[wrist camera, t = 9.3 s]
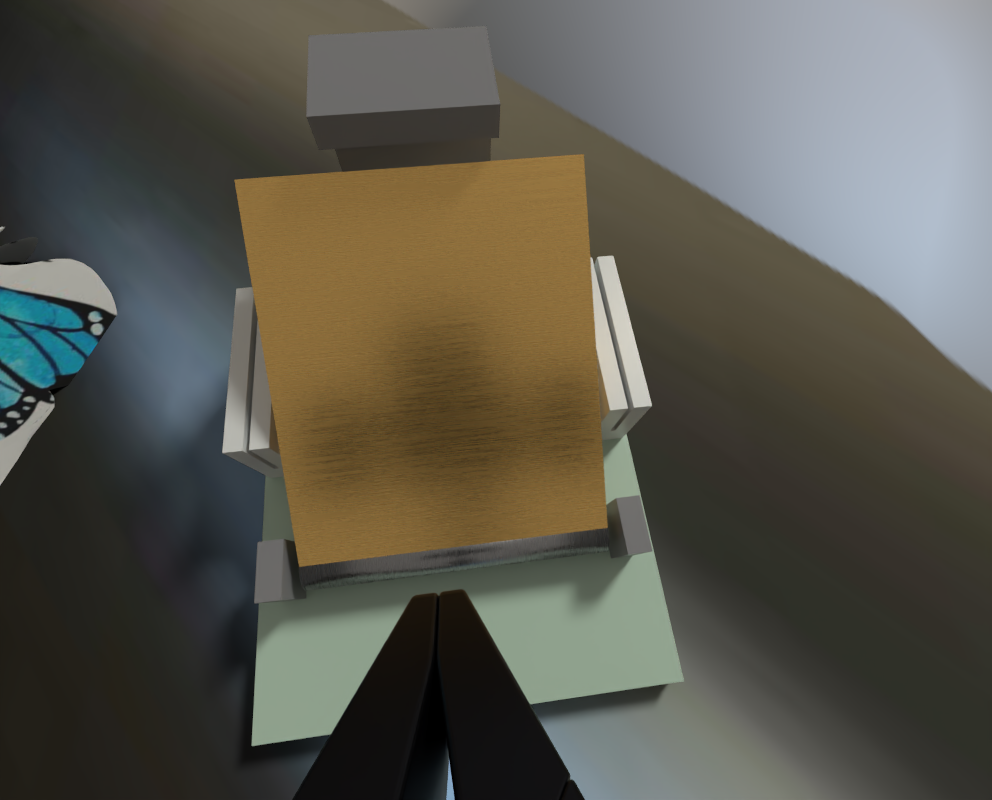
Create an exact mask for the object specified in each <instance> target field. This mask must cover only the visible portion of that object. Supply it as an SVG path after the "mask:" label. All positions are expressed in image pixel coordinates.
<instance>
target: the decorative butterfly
mask: <svg viewBox="0 0 992 800" xmlns="http://www.w3.org/2000/svg"><path fill="white" fill-rule="evenodd" d="M4 228H5V227H1V228H0V232H1V231H2V230H3V229H4ZM37 243H38V239H37V238H36V237H29V238H25V239H21V240H18V241H15V242H12V243H9V244H6V245H3V246H1V247H0V485H1V483H2V482H3V480H4V479H5V477H6V476H7V474H8V473H9V471H10V470H11V468H12V467H13V465H14V464H15V462H16V461H17V459H18V458H19V456H20V455H21V453H22V452H23V450H24V448H25V447H26V445H27V443H28V442H29V440H30V438H31V437H32V435H33V434H34V433H35V432H36V430H37V429H38V428H39V426H40V425H41V424H42V423H43V421H44V420H45V419H46V418H47V416H48V415H49V414H50V413H51V411H52V410H53V408H54V397H53V395H52V394H51V393H50V390H52V389H55V388H60V387H64V386H68V385H69V384H70V382H71V381H72V379H73V378H74V377H75V375H76V374H77V372H78V371H79V369H80V368H81V367H82V365H83V364H84V362H85V361H86V359H87V358H88V356H89V355H90V354H91V352H92V351H93V349H94V348H95V346H96V345H97V343H98V342H99V340H100V339H101V338H102V336H103V335H104V333H105V332H106V330H107V329H108V327H109V326H110V324H111V323H112V321H113V320H114V318H115V317H116V315H117V311H116V306H115V303H114V300H113V297H112V295H111V293H110V291H109V290H108V288H107V287H106V286H105V284H104V283H103V281H102V280H101V279H100V277H99V276H98V275H97V274H96V273H95V272H94V271H93V270H92V269H91V268H90V267H88V266H87V265H85V264H83V263H81V262H78V261H75V260H72V259H52V260H46V261H41V262H36V263H31V264H23V263H24V262H25V261H26V260H27V259H28V258H29V257H30V256H31V254H32V253H33V252H34V250H35V248H36V245H37ZM22 264H23V265H22Z"/></svg>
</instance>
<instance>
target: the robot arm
mask: <svg viewBox="0 0 992 800" xmlns="http://www.w3.org/2000/svg"><path fill="white" fill-rule="evenodd" d="M449 760H450V768H451V775H452V782H453V789H454V797H455V800H585V799H584V797H583V796H582V794H581V792H580V790H579V789H578V787H577V785H576V783H575V782H574V781H573V780H570V774H569V772H568V770H567V768H566V766H565V765H564V763H563V761H562V759H561V758H560V756H559V754H558V752H557V751H556V749H555V747H554V745H553V744H552V742H551V740H550V738H549V737H548V735H547V733H546V731H545V730H544V728H543V726H542V724H541V723H540V721H539V719H538V717H537V716H536V714H535V712H534V710H533V709H532V707H531V705H530V703H529V702H528V700H527V698H526V696H525V695H524V693H523V691H522V689H521V688H520V686H519V684H518V682H517V680H516V679H515V677H514V675H513V673H512V672H511V670H510V668H509V666H508V665H507V663H506V661H505V659H504V658H503V656H502V654H501V652H500V651H499V649H498V647H497V645H496V644H495V642H494V640H493V638H492V637H491V635H490V633H489V631H488V630H487V628H486V626H485V624H484V623H483V621H482V619H481V617H480V616H479V614H478V612H477V610H476V609H475V607H474V605H473V603H472V602H471V600H470V598H469V596H468V595H467V593H466V592H465V591H464V590H463V589H457V590H450V591H443V592H441V593H440V595H438V594H437V593H427V594H419V595H415V596H413V597H412V598H411V599H410V601H409V603H408V604H407V606H406V608H405V609H404V611H403V613H402V615H401V616H400V618H399V620H398V621H397V623H396V625H395V626H394V628H393V630H392V632H391V633H390V635H389V637H388V638H387V640H386V642H385V643H384V645H383V647H382V648H381V650H380V652H379V654H378V655H377V657H376V659H375V660H374V662H373V664H372V665H371V667H370V669H369V670H368V672H367V674H366V676H365V677H364V679H363V681H362V682H361V684H360V686H359V687H358V689H357V691H356V693H355V694H354V696H353V698H352V699H351V701H350V703H349V704H348V706H347V708H346V709H345V711H344V713H343V715H342V716H341V718H340V720H339V721H338V723H337V725H336V726H335V728H334V730H333V731H332V733H331V735H330V737H329V738H328V740H327V742H326V743H325V745H324V747H323V748H322V750H321V752H320V753H319V755H318V757H317V759H316V760H315V762H314V764H313V765H312V767H311V769H310V770H309V772H308V774H307V776H306V777H305V779H304V781H303V782H302V784H301V786H300V787H299V789H298V791H297V792H296V794H295V796H294V798H293V799H292V800H446V795H447V780H448V765H449Z"/></svg>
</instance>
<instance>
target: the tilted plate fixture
mask: <svg viewBox="0 0 992 800" xmlns="http://www.w3.org/2000/svg"><path fill="white" fill-rule="evenodd" d="M307 119H308V122H309V125H310V127H311V130H312V133H313V135H314V138H315V141H316V143H317V146H318V149H319V150H326V149H335V151H336V154H337V157H338V160H339V163H340V166H341V169H342V171H343V172H348V171H362V170H375V169H389V168H403V167H417V166H430V165H444V164H458V163H472V162H485V161H490V148H491V138H499V121H500V101H499V95H498V90H497V84H496V79H495V73H494V68H493V62H492V57H491V51H490V46H489V40H488V34H487V29H486V26H478V27H460V28H440V29H421V30H403V31H384V32H365V33H347V34H328V35H310V36H309V46H308V82H307ZM590 260H591V276H592V291H593V307H594V322H595V338H596V354H597V369H598V385H599V400H600V416H601V431H602V447H603V463H604V478H605V494H606V509H607V525H608V532H609V550H608V552H602V553H594V554H586V555H579V556H571V557H563V558H556V559H548V560H540V561H533V562H525V563H517V564H510V565H502V566H494V567H486V568H479V569H471V570H463V571H456V572H448V573H440V574H433V575H425V576H417V577H410V578H402V579H394V580H387V581H379V582H371V583H364V584H356V585H348V586H340V587H333V588H325V589H317V590H310V591H305V590H304V589H303V588H302V586H301V582H300V577H299V564H298V558H297V552H296V546H295V540H294V534H293V528H292V522H291V516H290V510H289V504H288V498H287V492H286V486H285V480H284V474H283V468H282V462H281V456H280V450H279V444H278V438H277V432H276V426H275V420H274V414H273V408H272V402H271V396H270V390H269V384H268V378H267V372H266V366H265V360H264V354H263V348H262V342H261V336H260V330H259V324H258V318H257V312H256V306H255V300H254V294H253V288H252V287H251V288H239V289H236V300H235V312H234V323H233V335H232V347H231V358H230V370H229V381H228V393H227V404H226V416H225V427H224V439H223V450H222V453H223V454H225V455H227V456H229V457H231V458H233V459H235V460H237V461H239V462H241V463H243V464H245V465H246V466H248V467H250V468H252V469H254V470H256V471H258V472H260V473H262V474H264V475H266V477H265V497H264V516H263V535H262V542H258V543H257V562H256V580H255V598H254V603H259V612H258V632H257V651H256V670H255V690H254V709H253V728H252V746H256V745H263V744H269V743H276V742H283V741H289V740H296V739H303V738H309V737H316V736H322V735H329V734H331V733H332V731H333V730H334V728H335V726H336V725H337V723H338V721H339V720H340V718H341V716H342V715H343V713H344V711H345V709H346V708H347V706H348V704H349V703H350V701H351V699H352V698H353V696H354V694H355V693H356V691H357V689H358V687H359V686H360V684H361V682H362V681H363V679H364V677H365V676H366V674H367V672H368V670H369V669H370V667H371V665H372V664H373V662H374V660H375V659H376V657H377V655H378V654H379V652H380V650H381V648H382V647H383V645H384V643H385V642H386V640H387V638H388V637H389V635H390V633H391V632H392V630H393V628H394V626H395V625H396V623H397V621H398V620H399V618H400V616H401V615H402V613H403V611H404V609H405V608H406V606H407V604H408V603H409V601H410V599H411V598H412V597H413V596H415V595H419V594H427V593H437V594H438V595H440V593H441V592H443V591H450V590H457V589H463V590H464V591H465V592H466V593H467V595H468V596H469V598H470V600H471V602H472V603H473V605H474V607H475V609H476V610H477V612H478V614H479V616H480V617H481V619H482V621H483V623H484V624H485V626H486V628H487V630H488V631H489V633H490V635H491V637H492V638H493V640H494V642H495V644H496V645H497V647H498V649H499V651H500V652H501V654H502V656H503V658H504V659H505V661H506V663H507V665H508V666H509V668H510V670H511V672H512V673H513V675H514V677H515V679H516V680H517V682H518V684H519V686H520V688H521V689H522V691H523V693H524V695H525V696H526V698H527V700H528V702H529V703H530V704H535V703H542V702H549V701H555V700H562V699H569V698H575V697H582V696H588V695H595V694H602V693H608V692H615V691H622V690H628V689H635V688H642V687H648V686H655V685H662V684H668V683H675V682H682V681H684V679H683V675H682V671H681V666H680V662H679V658H678V654H677V649H676V645H675V641H674V636H673V632H672V628H671V623H670V619H669V615H668V611H667V606H666V602H665V598H664V593H663V589H662V585H661V581H660V576H659V572H658V568H657V563H656V559H655V555H654V550H653V546H652V542H651V538H650V533H649V529H648V525H647V520H646V516H645V512H644V508H643V503H642V499H641V495H640V490H639V486H638V482H637V477H636V473H635V469H634V465H633V460H632V456H631V452H630V447H629V443H628V439H627V435H626V433H627V432H628V431H629V430H630V429H631V428H632V427H633V426H634V425H635V424H636V423H637V422H638V420H639V419H640V418H641V417H642V416H643V415H644V414H645V413H646V412H647V411H648V410H649V409H650V407H651V406H652V404H651V400H650V396H649V392H648V388H647V384H646V381H645V377H644V373H643V369H642V365H641V361H640V357H639V354H638V350H637V346H636V342H635V338H634V334H633V330H632V327H631V323H630V319H629V315H628V311H627V307H626V303H625V300H624V296H623V292H622V288H621V284H620V280H619V276H618V273H617V269H616V265H615V261H614V257H613V256H604V257H597V260H596V262H595V265H594V264H593V259H592V258H590Z"/></svg>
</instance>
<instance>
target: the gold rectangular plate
mask: <svg viewBox="0 0 992 800" xmlns="http://www.w3.org/2000/svg"><path fill="white" fill-rule="evenodd" d="M235 186H236V192H237V198H238V204H239V210H240V216H241V222H242V228H243V234H244V240H245V246H246V252H247V258H248V264H249V270H250V276H251V282H252V288H253V294H254V300H255V306H256V312H257V318H258V324H259V330H260V336H261V342H262V348H263V354H264V360H265V366H266V372H267V378H268V384H269V390H270V396H271V402H272V408H273V414H274V420H275V426H276V432H277V438H278V444H279V450H280V456H281V462H282V468H283V474H284V480H285V486H286V492H287V498H288V504H289V510H290V516H291V522H292V528H293V534H294V540H295V546H296V552H297V558H298V564H299V577H300V582H301V586H302V588H303V589H304V590H305V591H310V590H317V589H325V588H333V587H340V586H348V585H356V584H364V583H371V582H379V581H387V580H394V579H402V578H410V577H417V576H425V575H433V574H440V573H448V572H456V571H463V570H471V569H479V568H486V567H494V566H502V565H510V564H517V563H525V562H533V561H540V560H548V559H556V558H563V557H571V556H579V555H586V554H594V553H602V552H608V550H609V532H608V525H607V509H606V494H605V478H604V463H603V447H602V431H601V416H600V400H599V385H598V369H597V354H596V338H595V322H594V307H593V291H592V276H591V260H590V245H589V229H588V213H587V198H586V182H585V167H584V154H581V155H568V156H554V157H540V158H527V159H513V160H499V161H485V162H472V163H458V164H444V165H430V166H417V167H403V168H389V169H375V170H362V171H348V172H334V173H321V174H307V175H293V176H279V177H266V178H252V179H238V180H235Z"/></svg>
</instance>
